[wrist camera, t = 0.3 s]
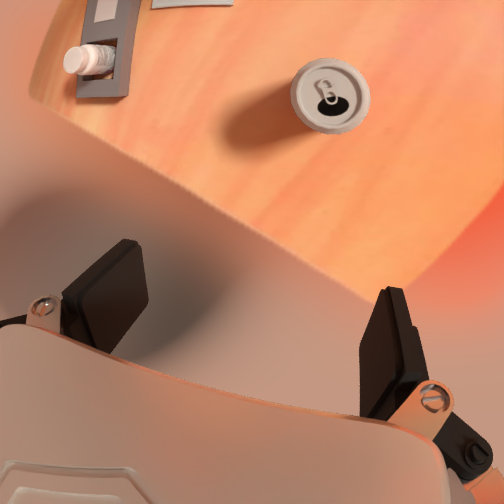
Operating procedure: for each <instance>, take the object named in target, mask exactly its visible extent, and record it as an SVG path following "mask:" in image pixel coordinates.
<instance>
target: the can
mask: <svg viewBox="0 0 504 504" xmlns="http://www.w3.org/2000/svg"><path fill="white" fill-rule="evenodd" d="M290 97H291V104H292V106H293V109H294V111H295V113H296V115H297V116H298V117H299V118H300V120H301V121H302V122H303V123H304V124H305V125H307V126H308V127H310V128H311V129H313V130H315V131H317V132H321V133H324V134H342V133H345V132H348V131H351V130H352V129H354V128H355V127H357V126H358V125H359V124H361V122H362V121H363V119H364V118H365V116H366V115H367V113H368V110H369V106H370V90H369V87H368V85H367V83H366V80H365V78H364V77H363V76H362V75H361V73H360V72H359V71H358V70H357V69H356V68H355V67H353V66H351V65H350V64H348V63H347V62H345V61H341V60H338V59H334V58H320V59H317V60H314V61H312V62H309V63H307V64H306V65H305V66H303V67H302V68H301V69H300V70H299V71H298V72H297V74H296V75H295V77H294V79H293V81H292V85H291V89H290Z"/></svg>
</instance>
